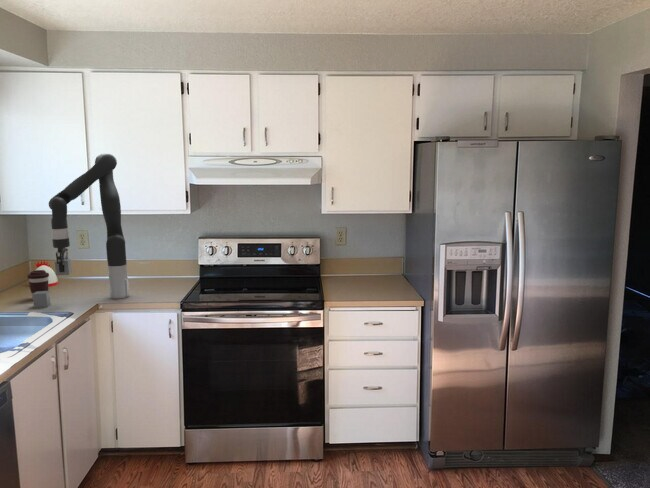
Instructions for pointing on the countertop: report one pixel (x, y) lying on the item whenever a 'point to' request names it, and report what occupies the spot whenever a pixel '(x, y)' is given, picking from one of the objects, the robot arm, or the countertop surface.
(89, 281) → the countertop surface
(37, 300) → the plain grey cube
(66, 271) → the matte grey cube
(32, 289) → the coffee cup
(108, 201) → the robot arm
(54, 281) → the kitchen timer
